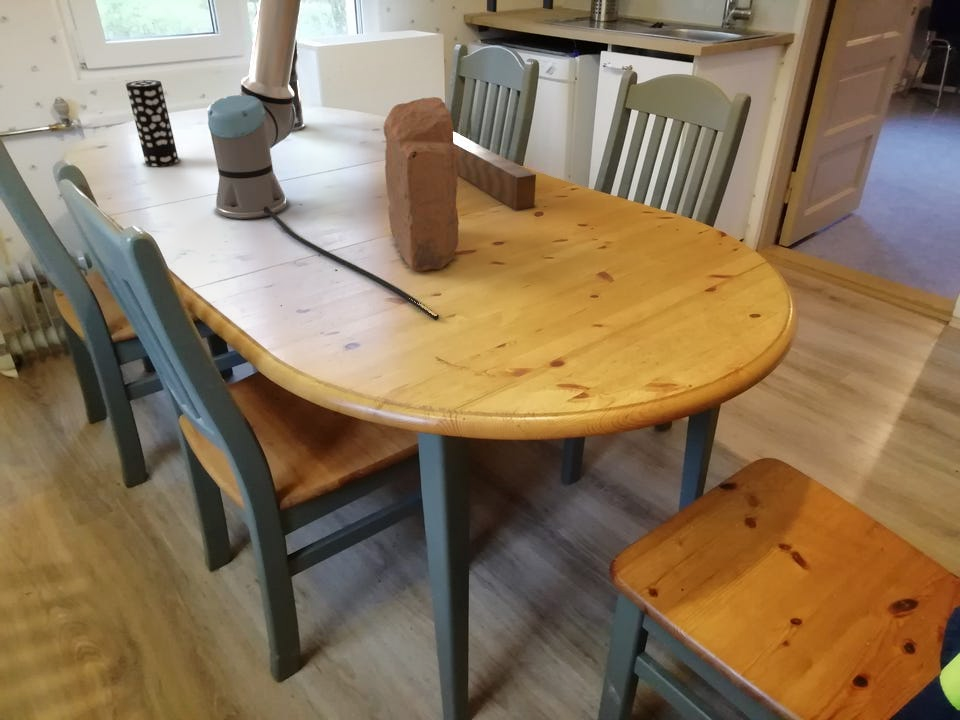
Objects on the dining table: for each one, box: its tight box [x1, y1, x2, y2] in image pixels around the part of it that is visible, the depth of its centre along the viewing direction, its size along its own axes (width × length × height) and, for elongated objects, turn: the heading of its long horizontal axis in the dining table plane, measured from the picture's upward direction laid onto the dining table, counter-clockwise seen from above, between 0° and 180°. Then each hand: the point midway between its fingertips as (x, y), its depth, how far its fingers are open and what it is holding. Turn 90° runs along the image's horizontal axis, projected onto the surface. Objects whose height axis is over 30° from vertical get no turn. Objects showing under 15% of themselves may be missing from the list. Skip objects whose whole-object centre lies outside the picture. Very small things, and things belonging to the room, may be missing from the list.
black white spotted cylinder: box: [125, 79, 179, 167], centre depth 181 cm, size 8×8×20 cm
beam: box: [454, 131, 537, 211], centre depth 181 cm, size 62×5×8 cm, turn 29°
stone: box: [383, 96, 460, 272], centre depth 131 cm, size 22×11×28 cm, turn 18°
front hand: (520, 10), depth 142 cm, fingers open, 13 cm apart
